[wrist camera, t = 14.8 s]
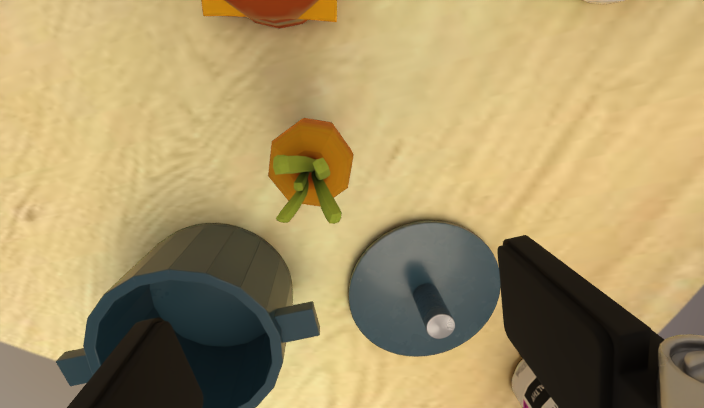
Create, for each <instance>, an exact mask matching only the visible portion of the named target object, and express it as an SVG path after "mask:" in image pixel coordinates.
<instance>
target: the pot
mask: <svg viewBox="0 0 704 408" xmlns="http://www.w3.org/2000/svg"><path fill="white" fill-rule="evenodd" d="M292 294H293V289H292V281H291V276H290V273H289V270H288V268H287V266H286V264H285V262H284V260H283V259H282V258H281V256H280V255H279V253H278V252H277V251H276V250H275V249H274V248H273V247H272V246H271V245H270V244H269V243H267V242H266V241H265V240H264V239H262V238H261V237H259V236H257V235H256V234H254V233H252V232H250V231H248V230H245V229H242V228H239V227H236V226H231V225H227V224H217V223H212V224H200V225H194V226H190V227H187V228H184V229H182V230H179V231H177V232H175V233H174V234H172V235H170V236H169V237H167V238H166V239H165V240H163V241H162V242H160V243H159V244H157V245H156V246H155V247H154V248H153V249H152V250H151V251H150V252H149V253H148V254H147V255H146V256H145V257H143V258H142V259H141V260H140V261H139V262H138V263H137V264H136V265H135V266H134V267H133V268H132V269H131V270H130V271H129V272H127V273H126V274H125V275H124V276H123V277H122V278H121V279H120V280H119V281H118V282H117V283H116V284H115V285H114V286H112V287H111V288H110V289H109V290H108V291H107V292H106V293H105V294H104V295H103V297H102V298H101V299H100V301H99V302H98V304H97V305H96V307H95V308H94V309H93V311H92V312H91V314H90V315H89V317H88V319H87V324H86V331H85V338H84V345H83V347H84V348H82V349H77V350H72V351H68V352H65V353H64V354H63V355H62V356H61V357H60V358H59V359H58V360H57V361H56V363H57V365H58V366H59V368H60V370H61V371H62V373H63V375H64V376H65V378H66V380H67V382H68V383H69V385H70V386H74V385H79V384H84V383H87V382H88V381H89V380H90V379H91V377H92V376H93V375H94V374H95V372H96V371H97V370H98V369H99V367H100V366H101V365H102V364H103V362H104V361H105V360H106V359H107V358H108V356H109V355H110V354H111V353H112V351H113V350H114V349H115V348H116V346H117V345H118V344H119V343H120V341H121V340H122V339H123V338H124V337H125V335H126V334H127V333H128V332H129V330H130V329H131V328H132V327H133V325H134V324H135V323H137V322H140V321H144V320H148V319H153V318H157V317H159V318H162V319H163V320H164V321H168V322H169V323H170V324H171V326H172V328H173V330H174V332H175V334H176V337H177V339H178V341H179V343H180V345H181V347H182V350H183V352H184V354H185V356H186V358H187V361H188V363H189V365H190V367H191V369H192V371H193V374H194V376H195V378H196V380H197V382H198V384H199V387H200V389H201V391H202V394H203V407H202V408H255V407H257V406H258V405H259V404H260V402H261V401H262V400H263V399H264V398H265V397H266V396H267V395H268V394H269V392H270V391H271V390H272V389H273V388H274V386H275V384H276V381H277V378H278V375H279V372H280V369H281V367H282V364H283V359H284V352H285V346H286V342H290V341H295V340H299V339H304V338H309V337H314V336H319V335H320V326H319V322H318V318H317V314H316V311H315V307H314V303H313V301H312V302H307V303H302V304H297V305H292V303H293V296H292Z"/></svg>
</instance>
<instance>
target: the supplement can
mask: <svg viewBox="0 0 704 408" xmlns="http://www.w3.org/2000/svg"><path fill="white" fill-rule="evenodd" d="M512 390H513V392H514V394H515V396H516V398H517V399H518V401H519V402H520V404H521V406H522V407H523V408H558V407H557V405H556V404H555V402H554V401H553V400H552V398H551V397H550V395H549V394H548V393H547V391H546V390H545V388H544V387H543V386H542V384H541V383H540V381H539V380H538V379H537V377H536V376H535V374H534V373H533V372H532V370H531V369H530V368H529V366H528V365H527V363H526V362H525V361H524V359H522V360H521V361H520V363H519V364H518V365H517V367H516V370H515V372H514V375H513V377H512Z"/></svg>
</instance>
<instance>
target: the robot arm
mask: <svg viewBox="0 0 704 408" xmlns="http://www.w3.org/2000/svg"><path fill="white" fill-rule="evenodd" d="M583 1H586V2H589V3H598V4H609V3H615V2H621V1H624V0H583ZM498 262H499V274H500V285H501V297H502V308H503V320H504V328H505V331H506V334H507V336H508V338H509V340H510V341H511V342H512V344H513V345H514V347H515V348H516V349H517V351H518V352H519V354H520V355H521V356H522V358H523V359H524V361H525V362H526V363H527V365H528V366H529V368H530V369H531V370H532V372H533V373H534V374H535V376H536V377H537V379H538V380H539V381H540V383H541V384H542V386H543V387H544V388H545V390H546V391H547V393H548V394H549V395H550V397H551V398H552V400H553V401H554V402H555V404H556V405H557V407H558V408H704V336H700V335H692V334H689V335H676V336H673V337H670V338H667V339H665V340H664V339H663V338H662V337H660V336H659V335H658V334H656V333H655V332H654V331H652V330H651V328H650V327H648V326H647V325H646V324H644V323H643V322H642V321H640V320H639V319H638V318H636V317H635V316H634V315H632V314H631V313H630V312H628V311H627V310H626V309H624V308H623V307H622V306H620V305H619V304H618V303H616V302H615V301H614V300H612V299H611V298H610V297H608V296H607V295H606V294H604V293H603V292H602V291H600V290H599V289H598V288H596V287H595V286H594V285H592V284H591V283H590V282H588V281H587V280H586V279H584V278H583V277H582V276H580V275H579V274H578V273H576V272H575V271H574V270H572V269H571V268H570V267H568V266H567V265H566V264H564V263H563V262H562V261H560V260H559V259H558V258H556V257H555V256H554V255H552V254H551V253H550V252H548V251H547V250H546V249H544V248H543V247H542V246H540V245H539V244H538V243H536V242H535V241H534V240H532V239H531V238H530V237H528V236H526V235H523V236H519V237H514V238H510V239H505V240H504V241H503V246H499V247H498ZM202 407H203V394H202V391H201V389H200V387H199V384H198V382H197V380H196V378H195V376H194V374H193V371H192V369H191V367H190V365H189V363H188V361H187V358H186V356H185V354H184V352H183V350H182V347H181V345H180V343H179V341H178V339H177V337H176V334H175V332H174V330H173V328H172V326H171V324H170V323H169V322H168V321H164V320H163V319H162V318H159V317H157V318H153V319H148V320H144V321H140V322H137V323H135V324H134V325H133V327H132V328H131V329H130V330H129V332H128V333H127V334H126V335H125V337H124V338H123V339H122V340H121V341H120V343H119V344H118V345H117V346H116V348H115V349H114V350H113V351H112V353H111V354H110V355H109V356H108V358H107V359H106V360H105V361H104V362H103V364H102V365H101V366H100V367H99V369H98V370H97V371H96V372H95V374H94V375H93V376H92V377H91V379H90V380H89V381H88V382H87V383H86V385H85V386H84V387H83V389H82V390H81V391H80V392H79V393H78V395H77V396H76V397H75V398H74V400H73V401H72V402H71V403H70V405H69V406H68V407H67V408H202Z"/></svg>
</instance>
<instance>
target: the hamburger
mask: <svg viewBox="0 0 704 408" xmlns="http://www.w3.org/2000/svg"><path fill="white" fill-rule="evenodd" d="M201 1H202V9H203V16H239V17H248V18H250V19H251V20H252V21H254V22H255V23H259V24H263V25H267V26H271V27H275V28H284V27H289V26H294V25H299V24H303V23H305V22H306V21H307V20H320V21H330V22H337V0H201Z"/></svg>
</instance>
